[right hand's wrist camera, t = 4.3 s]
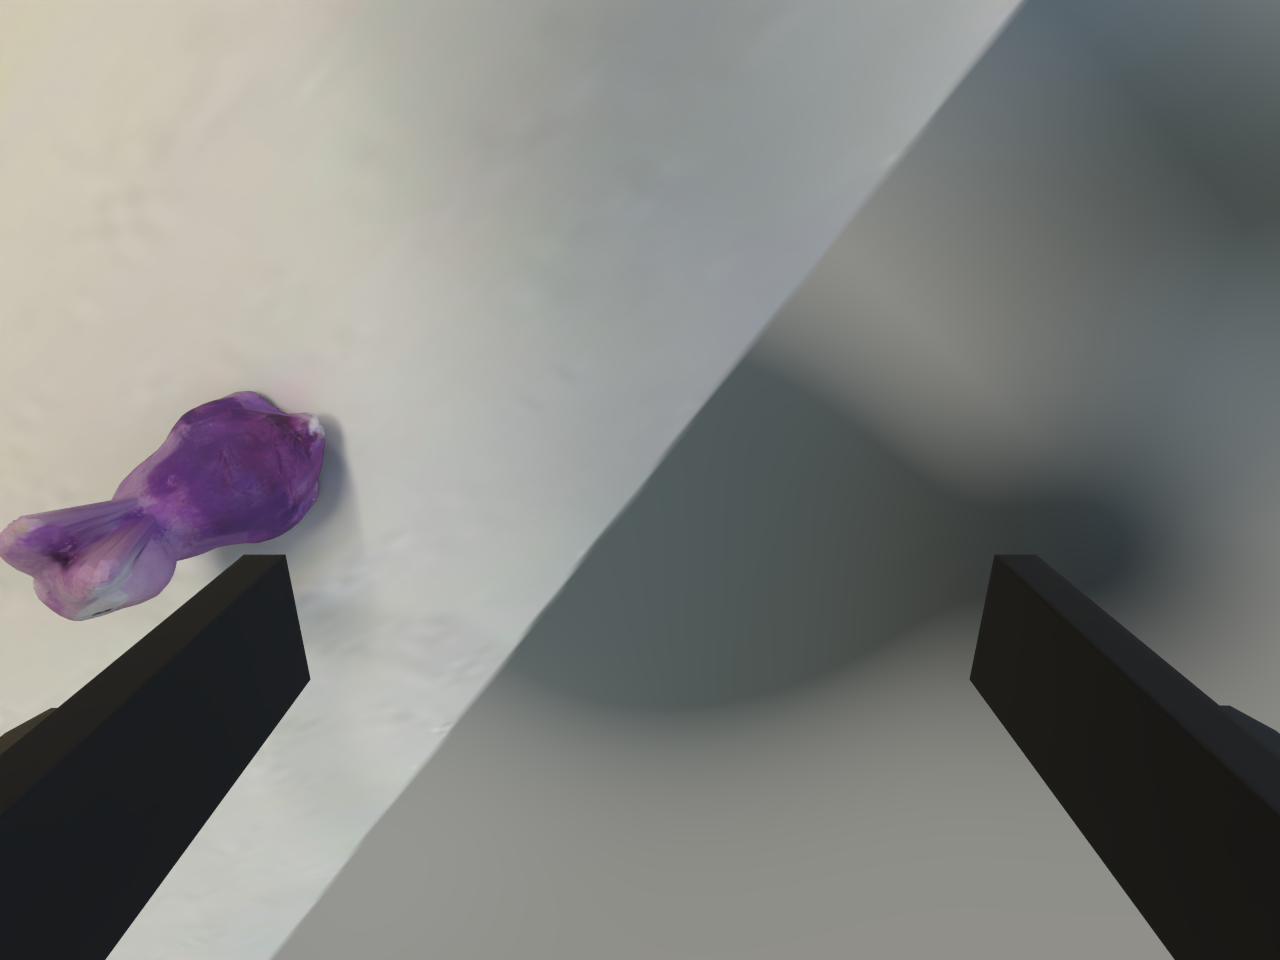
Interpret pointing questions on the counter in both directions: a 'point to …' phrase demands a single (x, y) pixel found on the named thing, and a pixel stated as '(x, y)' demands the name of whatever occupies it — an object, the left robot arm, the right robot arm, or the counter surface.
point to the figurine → (174, 507)
